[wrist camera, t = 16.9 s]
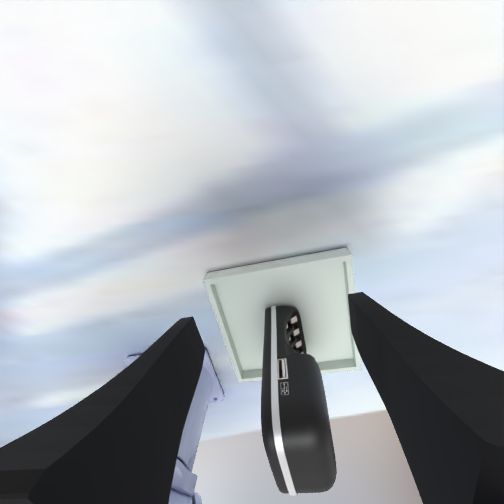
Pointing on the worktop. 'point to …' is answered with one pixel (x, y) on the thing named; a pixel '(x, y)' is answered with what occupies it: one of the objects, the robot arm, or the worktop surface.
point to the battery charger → (294, 408)
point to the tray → (287, 294)
